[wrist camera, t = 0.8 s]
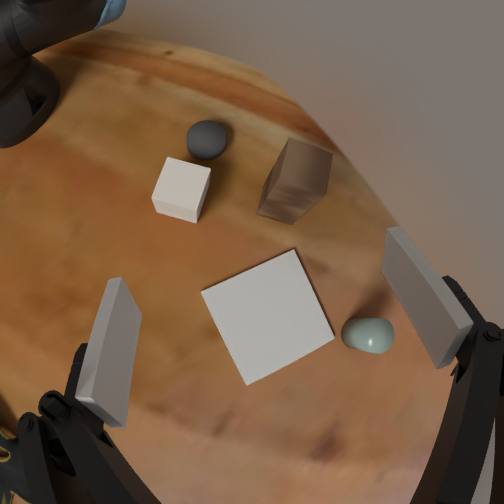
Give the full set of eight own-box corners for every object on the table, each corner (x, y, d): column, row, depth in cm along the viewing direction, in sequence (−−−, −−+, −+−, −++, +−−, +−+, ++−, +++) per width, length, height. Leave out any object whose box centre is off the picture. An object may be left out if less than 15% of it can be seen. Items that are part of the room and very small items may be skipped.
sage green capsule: (336, 327, 36) (359, 329, 31) (361, 312, 37) (386, 311, 32) (348, 354, 36) (372, 360, 30) (372, 338, 37) (398, 341, 31)
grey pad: (200, 291, 34) (200, 291, 34) (292, 249, 37) (293, 249, 37) (246, 384, 33) (246, 385, 33) (333, 337, 36) (334, 338, 36)
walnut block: (256, 214, 37) (279, 178, 27) (264, 181, 38) (289, 137, 28) (291, 225, 38) (326, 194, 27) (298, 192, 39) (332, 153, 28)
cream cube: (157, 212, 35) (151, 197, 30) (170, 175, 36) (167, 157, 32) (196, 223, 36) (196, 210, 31) (208, 186, 37) (210, 168, 32)
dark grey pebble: (181, 135, 38) (181, 127, 36) (216, 124, 39) (217, 115, 37) (195, 166, 37) (195, 159, 35) (231, 153, 38) (233, 146, 36)
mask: (-40, 384, 25) (1, 523, 20) (-64, 392, 19) (-12, 538, 14) (99, 433, 29) (124, 567, 24) (84, 454, 23) (120, 590, 18)
